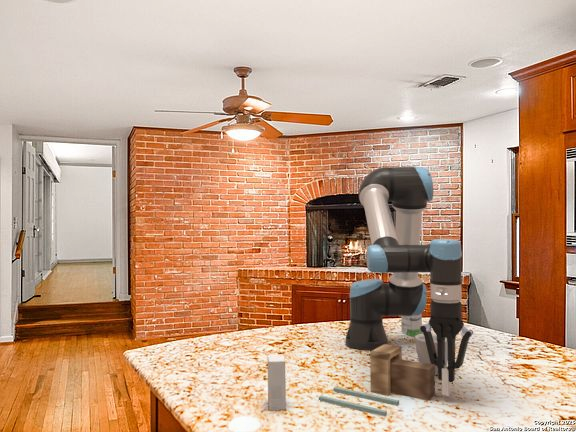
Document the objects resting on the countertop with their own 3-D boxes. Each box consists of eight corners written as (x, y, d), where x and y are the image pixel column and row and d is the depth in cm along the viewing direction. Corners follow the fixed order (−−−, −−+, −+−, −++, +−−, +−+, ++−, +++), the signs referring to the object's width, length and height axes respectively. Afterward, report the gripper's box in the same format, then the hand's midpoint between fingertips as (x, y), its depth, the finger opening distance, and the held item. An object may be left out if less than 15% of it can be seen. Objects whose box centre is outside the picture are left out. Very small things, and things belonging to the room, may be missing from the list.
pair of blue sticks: (318, 400, 125) (318, 396, 125) (335, 390, 133) (335, 386, 133) (384, 416, 115) (384, 412, 115) (399, 404, 122) (399, 400, 122)
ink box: (422, 336, 190) (422, 305, 190) (411, 337, 189) (410, 306, 189) (411, 331, 198) (411, 302, 198) (400, 332, 197) (400, 302, 197)
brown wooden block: (370, 389, 133) (370, 360, 133) (377, 384, 137) (377, 355, 137) (429, 401, 124) (429, 369, 124) (435, 395, 129) (435, 364, 129)
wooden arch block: (370, 391, 131) (370, 351, 131) (385, 381, 139) (384, 343, 139) (388, 395, 128) (387, 354, 128) (401, 385, 136) (401, 346, 136)
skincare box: (267, 401, 125) (267, 354, 125) (284, 400, 125) (283, 353, 125) (268, 410, 119) (268, 361, 119) (286, 410, 119) (285, 360, 119)
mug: (451, 366, 152) (450, 334, 152) (450, 382, 138) (450, 346, 138) (416, 363, 155) (416, 332, 155) (412, 378, 141) (411, 344, 141)
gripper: (415, 300, 125) (416, 393, 125) (468, 305, 118) (469, 403, 118) (425, 296, 131) (426, 384, 131) (476, 300, 124) (477, 394, 124)
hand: (446, 393), depth 124 cm, fingers closed
